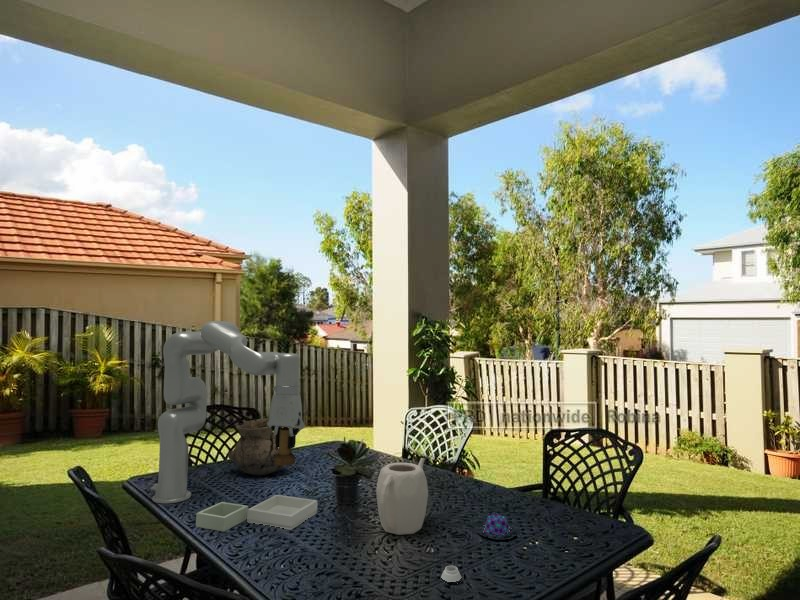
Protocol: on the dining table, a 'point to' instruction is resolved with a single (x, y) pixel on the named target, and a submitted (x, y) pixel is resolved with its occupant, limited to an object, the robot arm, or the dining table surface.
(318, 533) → the dining table surface
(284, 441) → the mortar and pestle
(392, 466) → the watering can
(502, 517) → the purple patterned dome
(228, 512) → the box
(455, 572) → the white jar
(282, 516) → the tray
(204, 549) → the dining table surface
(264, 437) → the clay pot
